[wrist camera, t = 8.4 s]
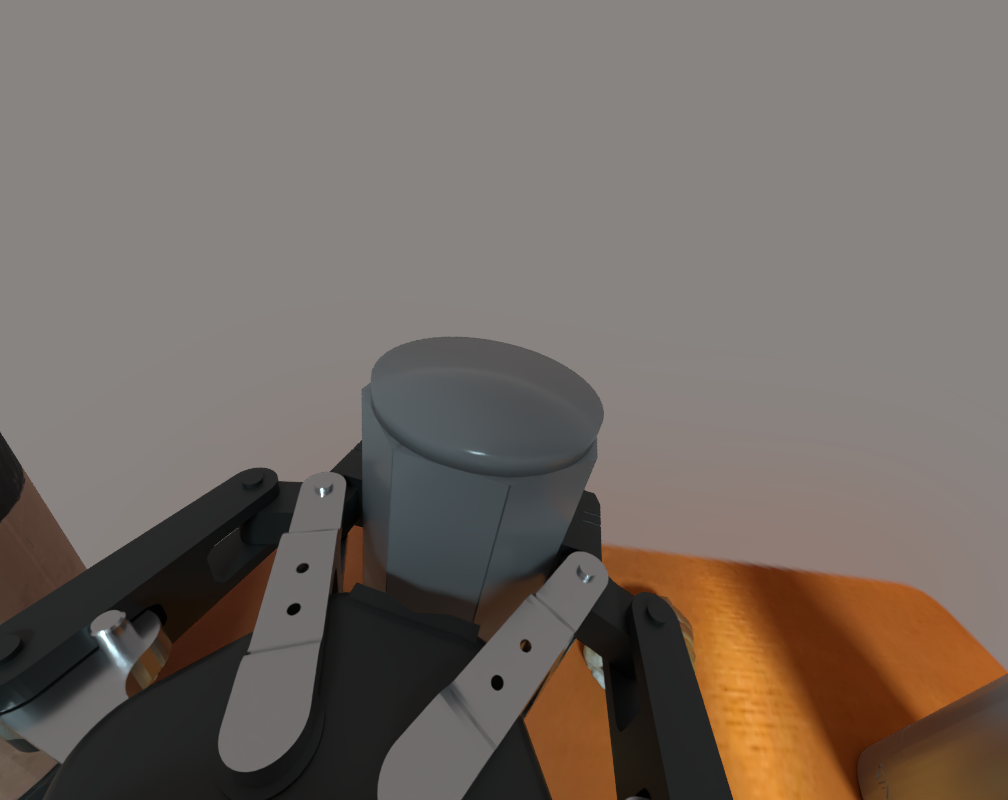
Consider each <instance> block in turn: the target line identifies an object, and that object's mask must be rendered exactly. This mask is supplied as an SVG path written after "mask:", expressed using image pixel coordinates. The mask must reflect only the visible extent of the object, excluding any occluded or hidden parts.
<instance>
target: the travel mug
mask: <svg viewBox="0 0 1008 800" xmlns="http://www.w3.org/2000/svg"><path fill="white" fill-rule="evenodd" d="M86 570H87V569H86V567H85V566H84V564H83V563H82V561H81V559H80V558H79V556H78V555H77V553H76V551H75V550H74V548H73V547H72V545H71V544H70V542H69V541H68V539H67V537H66V536H65V534H64V533H63V531H62V529H61V528H60V526H59V524H58V523H57V521H56V520H55V518H54V517H53V515H52V513H51V512H50V510H49V509H48V507H47V506H46V504H45V503H44V501H43V499H42V498H41V496H40V494H39V493H38V491H37V490H36V488H35V487H34V485H33V483H32V482H31V480H30V479H29V477H28V476H27V474H26V472H25V471H24V470H23V468H22V466H21V464H20V463H19V461H18V460H17V458H16V456H15V455H14V454H13V452H12V450H11V449H10V447H9V445H8V444H7V442H6V441H5V439H4V437H3V436H2V434H1V433H0V625H1V624H2V623H4V622H6V621H7V620H9V619H10V618H12V617H13V616H15V615H17V614H18V613H20V612H21V611H23V610H24V609H26V608H28V607H29V606H31V605H32V604H34V603H35V602H37V601H39V600H40V599H42V598H43V597H45V596H46V595H48V594H50V593H51V592H53V591H54V590H56V589H57V588H59V587H61V586H62V585H64V584H65V583H67V582H68V581H70V580H72V579H73V578H75V577H76V576H78V575H79V574H81V573H83V572H84V571H86ZM151 685H152V684H151ZM151 685H150V686H151ZM148 687H149V686H148ZM60 767H61V765H60V764H59V763H57V762H56V761H54V760H53V759H51V758H50V757H49V756H47V755H46V754H44V753H43V752H41V751H38V752H31V753H25V752H21V751H18V750H17V749H16V748H14V747H13V746H12V745H10V744H9V743H8V742H6V741H5V740H0V800H42V799H43V797H44V796H45V794H46V792H47V790H48V788H49V786H50V784H51V782H52V780H53V778H54V777H55V775H56V773H57V771H58V770H59V768H60Z"/></svg>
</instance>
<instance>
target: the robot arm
mask: <svg viewBox="0 0 1008 800" xmlns="http://www.w3.org/2000/svg"><path fill="white" fill-rule="evenodd" d="M354 525H356V526H359V527H362V528H363V492H362V440H361V441H360V443H358V444H357V445H356V446H355V447H354V449H353V450H351V452H349V453H348V454H347V455H346V456H345V457H344V458H343V459H342V460H341V461H340V462H339V463H338V464H337V465H336V466H335V467H334V468H333V469H332V470H331V471H330V472H322V473H318V474H315V475H313V476H311V477H309V478H308V479H306V480H305V482H282V481H278V477H277V474H276V473H275V472H274V471H273V470H271V469H267V468H252V469H248V470H245V471H242V472H240V473H238V474H236V475H235V476H233V477H232V478H230V479H229V480H227V481H225V482H224V483H222V484H221V485H219V486H218V487H216V488H214V489H213V490H211V491H210V492H208V493H207V494H205V495H203V496H202V497H200V498H199V499H197V500H196V501H194V502H193V503H191V504H189V505H188V506H186V507H185V508H183V509H181V510H180V511H179V512H177V513H175V514H174V515H172V516H171V517H169V518H167V519H166V520H164V521H163V522H161V523H159V524H158V525H156V526H155V527H153V528H152V529H150V530H149V531H147V532H145V533H144V534H142V535H141V536H139V537H138V538H136V539H134V540H133V541H131V542H130V543H128V544H127V545H125V546H123V547H122V548H120V549H119V550H117V551H116V552H114V553H112V554H111V555H109V556H108V557H106V558H105V559H103V560H101V561H100V562H98V563H97V564H95V565H94V566H92V567H90V568H89V569H87V570H86V571H84V572H83V573H81V574H79V575H78V576H76V577H75V578H73V579H72V580H70V581H68V582H67V583H65V584H64V585H62V586H61V587H59V588H57V589H56V590H54V591H53V592H51V593H50V594H48V595H46V596H45V597H43V598H42V599H40V600H39V601H37V602H35V603H34V604H32V605H31V606H29V607H28V608H26V609H24V610H23V611H21V612H20V613H18V614H17V615H15V616H13V617H12V618H10V619H9V620H7V621H6V622H4V623H2V624H1V625H0V740H5V741H6V742H8V743H9V744H10V745H12V746H13V747H14V748H16V749H17V750H18V751H21V752H25V753H31V752H38V751H41V752H43V753H44V754H46V755H47V756H49V757H50V758H51V759H53V760H54V761H56V762H57V763H59V764H60V765H61V767H60V768H59V770H58V771H57V773H56V775H55V777H54V778H53V780H52V782H51V784H50V786H49V788H48V790H47V792H46V794H45V796H44V797H43V799H42V800H552V798H551V795H550V792H549V789H548V786H547V784H546V781H545V778H544V775H543V772H542V770H541V767H540V764H539V761H538V758H537V756H536V753H535V750H534V747H533V744H532V742H531V739H530V736H529V733H528V730H527V728H526V725H525V722H524V719H525V718H526V716H527V715H528V713H529V712H530V710H531V709H532V707H533V706H534V704H535V702H536V701H537V699H538V698H539V696H540V694H541V693H542V691H543V690H544V688H545V686H546V685H547V683H548V681H549V680H550V678H551V677H552V675H553V674H554V672H555V670H556V669H557V667H558V666H559V664H560V663H561V661H562V660H563V658H564V657H565V655H566V654H567V652H568V651H569V649H570V647H571V646H572V644H573V643H574V641H575V640H576V639H578V640H579V641H580V642H582V643H583V644H585V645H586V646H587V647H589V648H590V649H591V650H593V651H594V652H595V653H597V654H598V655H599V656H601V657H602V664H603V673H604V682H605V692H606V701H607V710H608V719H609V728H610V737H611V746H612V755H613V764H614V774H615V783H616V792H617V800H733V797H732V794H731V791H730V787H729V784H728V781H727V778H726V774H725V771H724V768H723V764H722V761H721V758H720V755H719V751H718V748H717V745H716V741H715V738H714V735H713V732H712V728H711V725H710V722H709V718H708V715H707V712H706V709H705V705H704V702H703V699H702V695H701V692H700V689H699V686H698V682H697V679H696V676H695V672H694V669H693V666H692V663H691V659H690V656H689V653H688V649H687V646H686V643H685V640H684V636H683V633H682V630H681V626H680V623H679V620H678V617H677V615H676V613H675V612H674V610H673V609H672V607H671V606H670V605H669V604H668V603H667V602H666V601H665V600H663V599H662V598H661V597H659V596H657V595H655V594H652V593H648V592H642V593H639V594H637V595H636V596H634V595H632V594H631V593H629V592H627V591H626V590H624V589H623V588H621V587H620V586H618V585H617V584H616V583H615V582H613V581H612V579H611V578H610V577H609V576H608V573H607V570H606V568H605V566H604V565H603V563H602V555H601V527H600V525H601V520H600V504H599V502H598V500H597V497H596V495H595V494H594V493H591V492H587V491H583V493H582V496H581V498H580V500H579V503H578V505H577V508H576V510H575V512H574V515H573V517H572V520H571V522H570V524H569V527H568V529H567V532H566V534H565V536H564V539H563V541H562V543H561V545H560V548H559V550H558V553H557V555H556V557H555V560H554V562H553V565H552V567H551V569H550V572H549V574H548V577H547V579H546V581H545V584H544V585H543V586H542V588H541V589H540V590H539V591H538V592H537V593H536V594H534V593H532V594H530V595H529V596H528V597H527V598H526V599H525V601H524V602H523V603H522V604H521V605H520V606H519V607H518V608H517V610H516V611H515V612H514V613H513V614H512V615H511V616H510V618H509V619H508V620H507V621H506V622H505V623H504V624H503V626H502V627H501V628H500V629H499V630H498V631H497V632H496V633H495V635H494V636H493V637H492V638H491V639H490V640H489V641H488V643H486V642H485V641H484V640H483V639H481V638H480V637H479V636H478V633H479V629H480V625H477V624H475V623H472V622H469V621H466V620H463V619H460V618H457V617H454V616H452V615H446V614H430V613H416V612H413V611H411V610H409V609H408V608H407V607H405V606H404V605H403V604H401V603H400V602H398V601H397V600H396V599H394V598H393V597H391V596H390V595H389V594H387V593H385V592H382V591H379V590H377V589H374V588H371V587H368V586H365V585H362V584H359V583H356V585H355V586H354V588H353V589H352V591H351V592H344V593H343V580H344V571H345V562H346V553H347V543H348V532H349V531H350V530H351V528H352V527H353V526H354ZM236 528H237V529H236ZM235 529H236V530H235ZM234 530H235V531H234ZM231 532H232V533H231ZM230 533H231V534H230ZM229 534H230V535H229ZM227 535H229V536H227ZM226 536H227V537H226ZM225 537H226V538H225ZM222 539H223V540H222ZM221 540H222V541H221ZM220 541H221V542H220ZM218 542H219V543H218ZM217 543H218V544H217ZM216 544H217V545H216ZM277 547H278V550H277V553H276V557H275V560H274V563H273V567H272V570H271V574H270V577H269V581H268V584H267V588H266V591H265V594H264V598H263V601H262V605H261V608H260V612H259V615H258V619H257V622H256V626H255V629H254V631H253V632H251V633H249V634H247V635H245V636H244V637H242V638H240V639H238V640H236V641H234V642H232V643H230V644H228V645H226V646H225V647H223V648H221V649H219V650H217V651H215V652H213V653H211V654H209V655H208V656H206V657H204V658H202V659H200V660H198V661H196V662H194V663H192V664H191V665H189V666H187V667H185V668H183V669H181V670H179V671H177V672H175V673H174V674H172V675H170V676H168V677H166V678H164V679H162V680H160V681H158V682H157V683H155V684H153V685H151V684H152V683H153V682H154V681H155V680H156V678H157V677H158V675H159V671H160V670H161V669H162V667H163V666H164V665H165V663H166V662H167V660H168V658H169V656H170V653H171V649H172V643H173V642H175V641H176V640H177V639H178V638H179V637H180V636H181V635H182V634H183V633H184V632H186V631H187V630H188V629H189V628H190V627H191V626H192V625H193V624H194V623H195V622H196V621H198V620H199V619H200V618H201V617H202V616H203V615H204V614H205V613H206V612H207V611H208V610H210V609H211V608H212V607H213V606H214V605H215V604H216V603H217V602H218V601H219V600H220V599H222V598H223V597H224V596H225V595H226V594H227V593H228V592H229V591H230V590H231V589H232V588H234V587H235V586H236V585H237V584H238V583H239V582H240V581H241V580H242V579H243V578H244V577H246V576H247V575H248V574H249V573H250V572H251V571H252V570H253V569H254V568H255V567H256V566H258V565H259V564H260V563H261V562H262V561H263V560H264V559H265V558H266V557H267V556H269V555H270V554H271V553H272V552H273V551H274V550H275V549H276V548H277ZM150 685H151V686H150ZM148 686H149V687H148ZM857 769H858V782H859V786H860V790H861V794H862V798H863V800H1008V674H1006V675H1004V676H1002V677H1000V678H998V679H996V680H995V681H993V682H991V683H989V684H987V685H985V686H983V687H981V688H979V689H977V690H976V691H974V692H972V693H970V694H968V695H966V696H964V697H962V698H960V699H958V700H956V701H955V702H953V703H951V704H949V705H947V706H945V707H943V708H941V709H939V710H937V711H936V712H934V713H932V714H930V715H928V716H926V717H924V718H922V719H920V720H918V721H917V722H915V723H913V724H910V725H908V726H906V727H905V728H903V729H901V730H899V731H897V732H895V733H893V734H891V735H889V736H888V737H886V738H884V739H882V740H880V741H878V742H876V743H874V744H873V745H871V746H869V747H867V748H866V749H865V750H864V751H863V752H862V753H861V754H860V757H859V761H858V764H857Z"/></svg>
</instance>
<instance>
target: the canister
mask: <svg viewBox="0 0 1008 800" xmlns="http://www.w3.org/2000/svg"><path fill="white" fill-rule="evenodd" d="M603 416H604V411H603V406H602V403H601V401H600V398H599V397H598V395H597V394H596V392H595V391H594V389H593V388H592V387H591V386H590V385H589V384H588V383H587V382H586V381H585V380H584V379H583V378H581V377H580V376H579V375H578V374H576V373H575V372H574V371H572V370H571V369H569V368H568V367H566V366H564V365H562V364H560V363H559V362H557V361H555V360H553V359H551V358H549V357H546V356H544V355H542V354H539V353H537V352H534V351H531V350H528V349H525V348H522V347H519V346H515V345H511V344H507V343H503V342H498V341H493V340H487V339H480V338H469V337H438V338H428V339H422V340H416V341H412V342H409V343H405V344H403V345H400V346H398V347H395V348H393V349H392V350H390V351H388V352H386V353H385V354H384V355H383V356H382V357H380V359H379V360H378V361H377V362H376V364H375V365H374V368H373V370H372V374H371V383H369V384H368V385H367V386H365V387H364V388H363V389H362V492H363V585H365V586H368V587H371V588H374V589H377V590H379V591H382V592H385V593H387V594H389V595H390V596H391V597H393V598H394V599H396V600H397V601H398V602H400V603H401V604H403V605H404V606H405V607H407V608H408V609H409V610H411V611H413V612H416V613H430V614H446V615H452V616H454V617H457V618H460V619H463V620H466V621H469V622H472V623H475V624H477V625H480V629H479V633H478V636H479V637H480V638H481V639H483V640H484V641H485V642H486V643H488V641H489V640H490V639H491V638H492V637H493V636H494V635H495V633H496V632H497V631H498V630H499V629H500V628H501V627H502V626H503V624H504V623H505V622H506V621H507V620H508V619H509V618H510V616H511V615H512V614H513V613H514V612H515V611H516V610H517V608H518V607H519V606H520V605H521V604H522V603H523V602H524V601H525V599H526V598H527V597H528V596H529V595H530V594H532V593H534V594H536V593H537V592H538V591H539V590H540V589H541V588H542V586H543V585H544V584H545V581H546V579H547V577H548V574H549V572H550V569H551V567H552V565H553V562H554V560H555V557H556V555H557V553H558V550H559V548H560V545H561V543H562V541H563V539H564V536H565V534H566V532H567V529H568V527H569V524H570V522H571V520H572V517H573V515H574V512H575V510H576V508H577V505H578V503H579V500H580V498H581V496H582V493H583V491H584V488H585V486H586V484H587V481H588V479H589V476H590V474H591V471H592V469H593V467H594V464H595V462H596V459H597V434H598V432H599V430H600V427H601V424H602V422H603Z"/></svg>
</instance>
